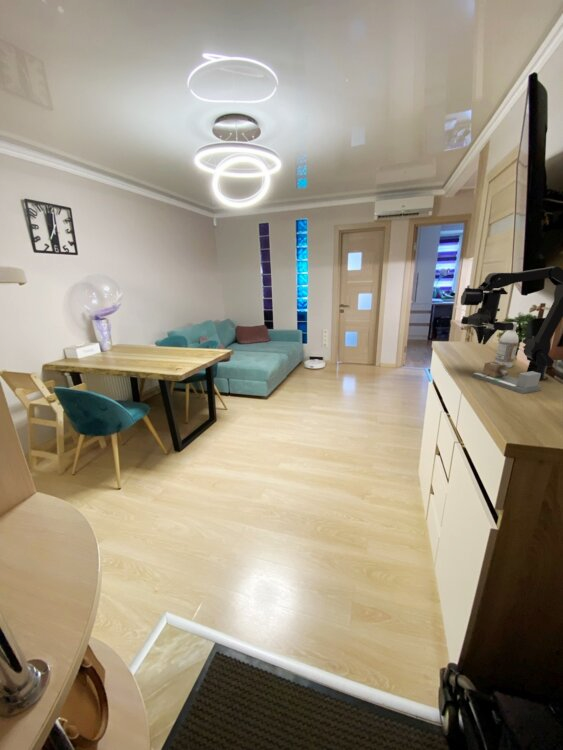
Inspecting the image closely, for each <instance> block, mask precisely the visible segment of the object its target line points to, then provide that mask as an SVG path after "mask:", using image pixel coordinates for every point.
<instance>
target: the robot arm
mask: <svg viewBox="0 0 563 750" xmlns="http://www.w3.org/2000/svg"><path fill="white" fill-rule="evenodd" d="M544 279H548V280H549V282H550V283H551V284H552V285H554V286H555V288H554V293H553V303H552V304H551V306H550V308H549V309H548V312H547V314H546V316H545V318H544V320H543V322H542V323H541V326H540V328H539V329H538V332H537V334H536V335H535V337H533V338H532V339H530V338H527V340H526V342H525V344H524V345H523V347H522V348H523V353H524V354H523V355H525V356H526V360H527V361H529V363H528V365H527V366H528V367H527V368H526V369H527V370H526V372H530V371H534V372H537V373H541V376H540V379H539V381H542V380H543V381H544V380H548V379H549V377H548V376H545V374H546V371H547V367H551V366H552V365H553V364H554V363H555V361H554V360H553V358H551V357H550V355H549V354H550V351H551V348H552V347H551V343H552V342H551V340H552V339H553V337H554V334H555V332H556V330H557V329H558V327H559V325H560V324H561V323H560V322H562V319H563V268H561V267H560V266H556V265H555V266H548V267H544V268H535V269H530V270H522V271H516V272H490V273H488V275H487V276H485V278H484V281H482V282H481V284H480V285H479V286H478V287H475V288H471V287H464V288H463V289H464V290H463V292H462V293H461V294H462V295H461V297H460V305H461V306H479V305H480V304H481V306H480V307H478V308H477V311H476V312H474V313H472V314H471V315H469V316H464V317H462V319H461V322H460V324H462V325H470V328H473V330H475V334H476V338H477V339H476V340H477V343H478V344H482V345H484V346H485V345H486V344H487V343H488V341H489V340H490V338H492V336H493V335H495V334H496V332H497V331H502V332H504V331H505V332H506V331H507V330H513V328H514V325H513V323H512V322H513V321H505V320H504V321H503V320H502V321H498V320H499V319H498V318H497V315H498V312H500V310H501V308H499V306H500V301H501V295H508V294H509V293H508V292H507V290H506V289H505V288H504V287H508V286H510V285H512V284H516V283H522V282H530V281H536V280H537V281H538V280H544Z"/></svg>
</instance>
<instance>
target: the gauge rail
mask: <svg viewBox="0 0 563 750" xmlns="http://www.w3.org/2000/svg"><path fill="white" fill-rule="evenodd" d="M540 376H541V373H537V372H534V371H530V372H527V371H526V372H525V371H524V372H520V373H518V377H517V378H516V377H512V376H509V375H504V376H500V377H495V378H494V377H491V376H488V375H487V376H486V375H485V374H483V371H479V372H473V373H472V378H475V379H478V380H480V379H481V381H483V380H484V382H486V381H487V383H489V382H490V384H492V385H495V384H496V386H498V385H499V386H498V387H501V388H504V387H505V389H506V390H507V389H508V390H509V391H510V390H511V391H513V392H516V393H518V392H519V393H518V394H521V393H522V395H523V393H524V394H528V392H529V393H533V392H537V391H541V389H542V385H539V382H540V380H539V379H540Z"/></svg>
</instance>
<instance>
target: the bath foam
mask: <svg viewBox="0 0 563 750" xmlns="http://www.w3.org/2000/svg"><path fill="white" fill-rule="evenodd" d="M511 322H512V323H513V325H514V328H513V330H507V331H505V332H503V334H502V335H501V336H500V338H499V341H498V345H497V350H496V352H495V353H496V354H495V359H494V362H498V363H501V364H504V365H506V369H507V368H512V367H513V365H514V361H515V357H516V353H517V350H518V346H519V340H520V339H519V335H518V333H517V332H516V330H517V327H518V322H515V321H511Z"/></svg>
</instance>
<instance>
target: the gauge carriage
mask: <svg viewBox="0 0 563 750" xmlns="http://www.w3.org/2000/svg"><path fill="white" fill-rule="evenodd" d="M506 369H507V368H506V365H504V364H501V363H498V362H495V361H490V362H485V363H484V366H483V370H482V372H483V374H485V375H486V376H487V375H488V376H491V377H494V378H495V377H500V376H504V375H506V376H509V375H508V374H509V371H508V370H506Z"/></svg>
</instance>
